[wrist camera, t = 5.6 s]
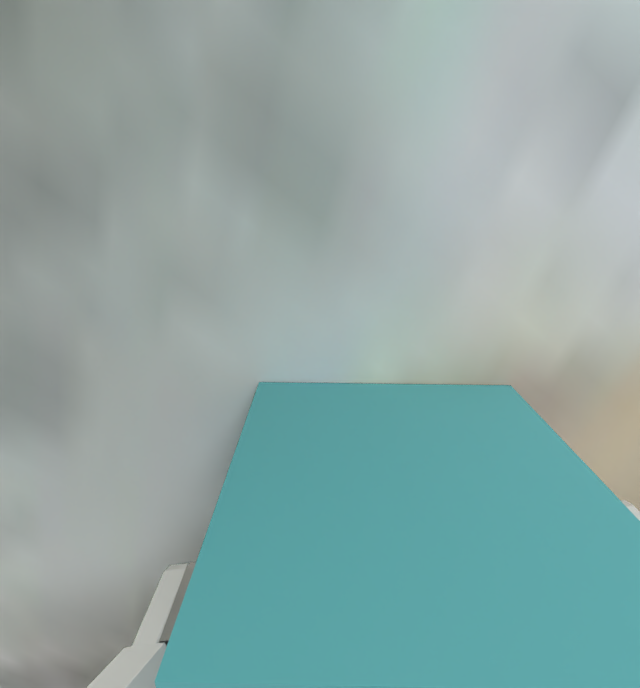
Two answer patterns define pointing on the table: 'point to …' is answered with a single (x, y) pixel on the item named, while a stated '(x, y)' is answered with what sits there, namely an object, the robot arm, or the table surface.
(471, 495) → the teal block
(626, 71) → the table surface
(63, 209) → the table surface
